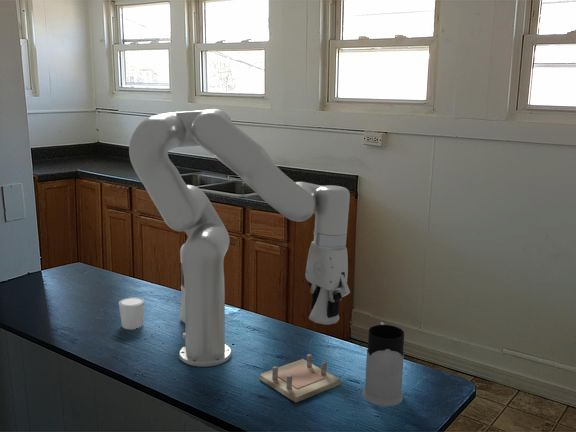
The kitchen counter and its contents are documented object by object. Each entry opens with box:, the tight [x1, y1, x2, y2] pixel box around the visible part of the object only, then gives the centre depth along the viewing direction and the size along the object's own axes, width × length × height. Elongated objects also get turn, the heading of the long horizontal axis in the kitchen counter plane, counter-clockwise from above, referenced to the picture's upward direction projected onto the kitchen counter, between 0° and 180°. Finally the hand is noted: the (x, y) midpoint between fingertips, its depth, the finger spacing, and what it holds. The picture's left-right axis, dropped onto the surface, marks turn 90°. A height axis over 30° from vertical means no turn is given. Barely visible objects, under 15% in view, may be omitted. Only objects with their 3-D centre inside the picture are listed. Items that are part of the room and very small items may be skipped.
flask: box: [308, 288, 340, 326], centre depth 146 cm, size 7×7×10 cm
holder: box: [362, 322, 405, 407], centre depth 134 cm, size 9×14×15 cm, turn 177°
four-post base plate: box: [258, 353, 341, 403], centre depth 138 cm, size 13×13×4 cm
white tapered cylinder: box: [118, 296, 146, 330], centre depth 167 cm, size 7×7×7 cm
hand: (324, 311), depth 146 cm, fingers closed on flask, 4 cm apart
